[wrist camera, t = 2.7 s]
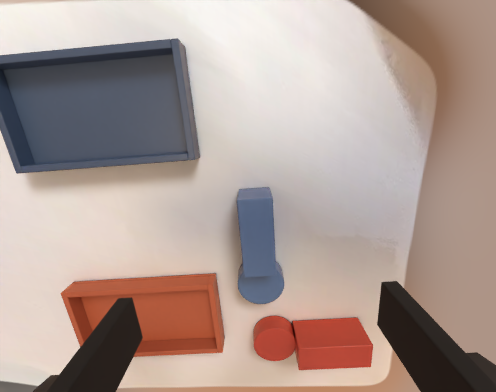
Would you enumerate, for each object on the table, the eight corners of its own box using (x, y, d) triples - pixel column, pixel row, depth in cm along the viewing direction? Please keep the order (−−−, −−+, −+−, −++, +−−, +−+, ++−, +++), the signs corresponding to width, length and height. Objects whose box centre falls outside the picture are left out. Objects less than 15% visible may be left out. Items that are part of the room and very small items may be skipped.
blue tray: (184, 46, 19) (177, 37, 17) (199, 157, 22) (195, 159, 20) (-2, 64, 20) (-27, 57, 18) (35, 169, 22) (15, 173, 20)
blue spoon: (229, 189, 23) (225, 201, 19) (278, 186, 22) (283, 196, 19) (240, 293, 26) (238, 319, 23) (282, 291, 26) (287, 316, 23)
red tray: (215, 273, 25) (213, 284, 24) (224, 338, 28) (222, 352, 26) (73, 281, 26) (60, 293, 24) (95, 344, 29) (84, 359, 27)
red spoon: (358, 311, 27) (374, 338, 23) (355, 343, 28) (370, 373, 25) (252, 316, 27) (252, 344, 24) (255, 347, 28) (255, 378, 25)
